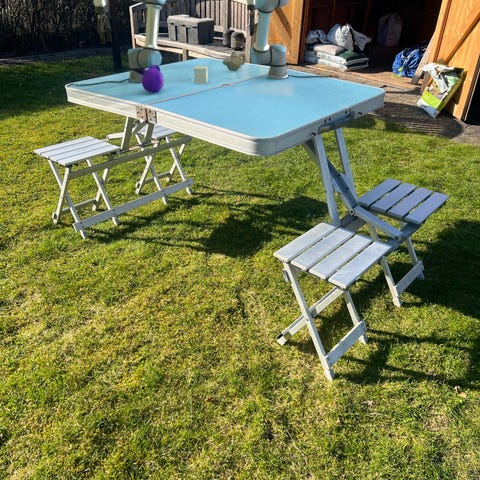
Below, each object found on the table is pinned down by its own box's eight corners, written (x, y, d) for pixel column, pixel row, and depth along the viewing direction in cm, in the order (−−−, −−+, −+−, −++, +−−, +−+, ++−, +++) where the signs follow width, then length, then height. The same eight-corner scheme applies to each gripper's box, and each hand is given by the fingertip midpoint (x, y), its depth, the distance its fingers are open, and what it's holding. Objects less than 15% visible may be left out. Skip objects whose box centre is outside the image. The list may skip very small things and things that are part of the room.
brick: (206, 83, 326) (205, 68, 321) (194, 83, 327) (193, 68, 321) (208, 81, 334) (207, 66, 328) (196, 81, 334) (195, 66, 329)
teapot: (226, 73, 360) (225, 53, 353) (219, 71, 369) (219, 51, 361) (249, 70, 370) (249, 50, 362) (242, 68, 378) (241, 49, 371)
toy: (156, 85, 322) (164, 98, 301) (131, 81, 314) (137, 93, 294) (160, 63, 314) (168, 74, 293) (135, 58, 306) (141, 69, 286)
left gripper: (100, 7, 269) (106, 45, 280) (112, 4, 291) (117, 40, 302) (88, 7, 270) (94, 45, 281) (101, 5, 291) (106, 40, 302)
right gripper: (255, 5, 329) (255, 36, 340) (257, 3, 351) (257, 33, 361) (245, 5, 330) (246, 36, 341) (248, 3, 351) (248, 33, 362)
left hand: (106, 42), depth 291 cm, fingers open, 13 cm apart
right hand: (252, 35), depth 351 cm, fingers open, 13 cm apart
